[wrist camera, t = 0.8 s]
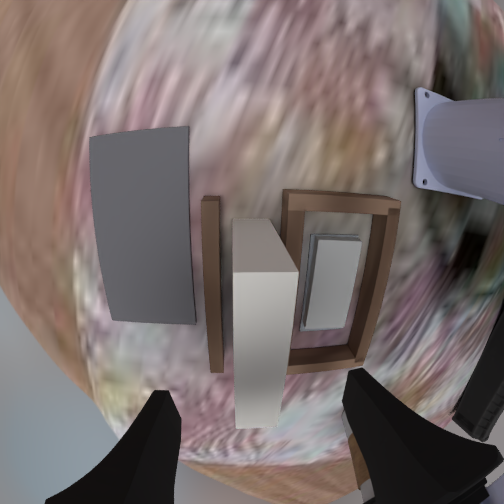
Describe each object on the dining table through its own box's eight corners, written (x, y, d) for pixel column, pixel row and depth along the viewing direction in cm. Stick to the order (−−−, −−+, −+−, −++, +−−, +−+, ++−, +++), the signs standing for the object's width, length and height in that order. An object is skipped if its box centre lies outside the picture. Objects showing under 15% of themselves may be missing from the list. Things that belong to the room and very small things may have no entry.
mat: (189, 126, 15) (188, 126, 15) (196, 322, 20) (195, 324, 20) (91, 137, 15) (89, 137, 15) (113, 318, 20) (112, 320, 19)
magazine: (475, 445, 25) (595, 347, 6) (462, 453, 24) (589, 358, 6) (446, 375, 38) (530, 252, 20) (435, 380, 38) (520, 256, 20)
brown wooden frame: (386, 196, 18) (401, 201, 16) (354, 351, 23) (362, 365, 21) (204, 188, 17) (201, 192, 15) (212, 360, 22) (211, 376, 20)
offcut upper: (356, 237, 19) (362, 241, 18) (340, 320, 21) (344, 327, 20) (314, 235, 18) (318, 239, 17) (302, 321, 21) (304, 328, 20)
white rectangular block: (269, 218, 18) (298, 271, 10) (262, 341, 21) (277, 426, 13) (232, 218, 18) (232, 272, 10) (233, 341, 21) (235, 428, 13)
